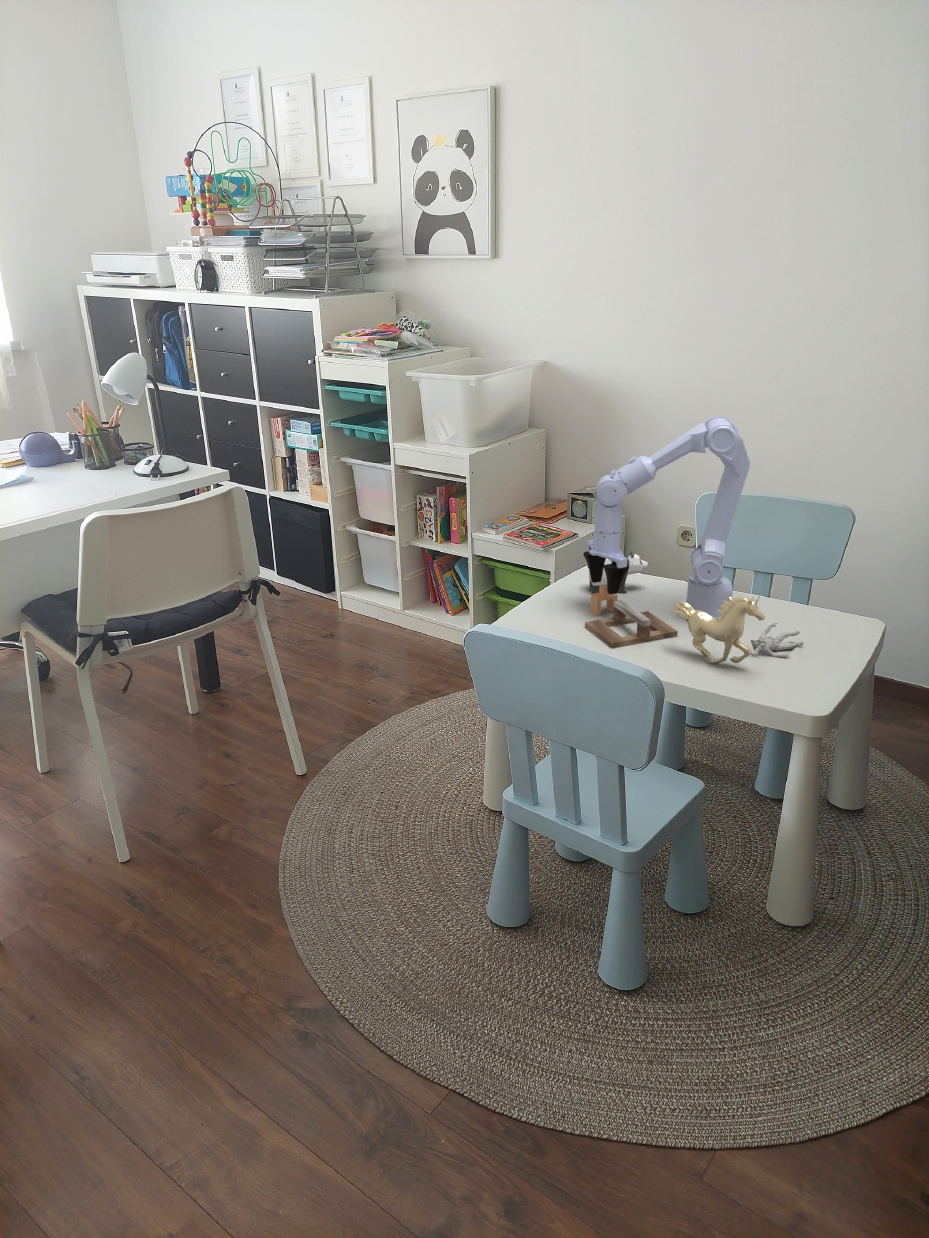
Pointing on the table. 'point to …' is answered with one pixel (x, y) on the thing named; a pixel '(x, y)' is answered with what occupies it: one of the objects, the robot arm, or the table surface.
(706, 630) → the unicorn
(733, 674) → the table surface
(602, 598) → the block
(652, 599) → the table surface
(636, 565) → the giant panda
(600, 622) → the brown wooden frame
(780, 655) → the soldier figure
